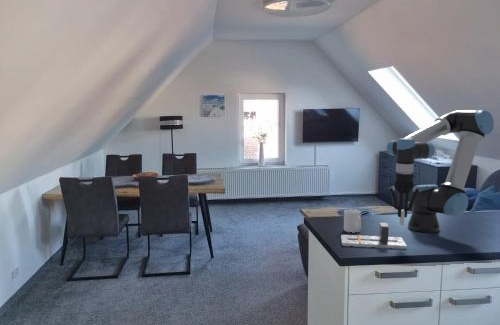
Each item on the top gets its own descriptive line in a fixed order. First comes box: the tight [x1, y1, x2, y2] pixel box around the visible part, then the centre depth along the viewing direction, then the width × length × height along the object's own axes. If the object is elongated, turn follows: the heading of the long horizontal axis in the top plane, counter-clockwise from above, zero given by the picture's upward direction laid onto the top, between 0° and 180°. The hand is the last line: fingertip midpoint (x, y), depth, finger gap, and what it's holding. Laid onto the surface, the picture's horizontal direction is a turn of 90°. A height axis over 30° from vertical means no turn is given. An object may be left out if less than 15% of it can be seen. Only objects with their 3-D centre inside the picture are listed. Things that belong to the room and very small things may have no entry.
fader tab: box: [379, 222, 390, 242], centre depth 192 cm, size 3×6×7 cm, turn 170°
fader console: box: [340, 234, 408, 250], centre depth 193 cm, size 28×13×2 cm, turn 80°
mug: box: [343, 208, 363, 234], centre depth 211 cm, size 12×8×10 cm
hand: (401, 224), depth 190 cm, fingers closed
